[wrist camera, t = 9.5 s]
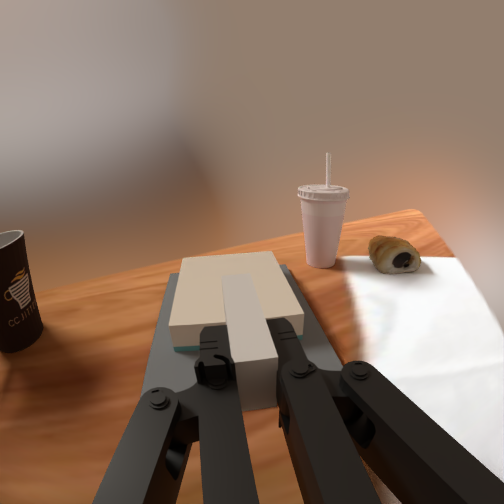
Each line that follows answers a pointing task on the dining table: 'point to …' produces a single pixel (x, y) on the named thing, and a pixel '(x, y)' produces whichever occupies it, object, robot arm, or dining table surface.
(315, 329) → the mat
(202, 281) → the tile
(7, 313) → the coffee mug
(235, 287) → the robot arm
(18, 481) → the dining table surface
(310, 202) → the smoothie
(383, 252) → the pastry
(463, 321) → the dining table surface
